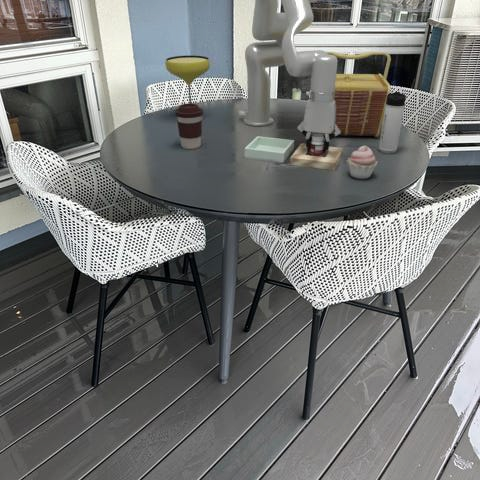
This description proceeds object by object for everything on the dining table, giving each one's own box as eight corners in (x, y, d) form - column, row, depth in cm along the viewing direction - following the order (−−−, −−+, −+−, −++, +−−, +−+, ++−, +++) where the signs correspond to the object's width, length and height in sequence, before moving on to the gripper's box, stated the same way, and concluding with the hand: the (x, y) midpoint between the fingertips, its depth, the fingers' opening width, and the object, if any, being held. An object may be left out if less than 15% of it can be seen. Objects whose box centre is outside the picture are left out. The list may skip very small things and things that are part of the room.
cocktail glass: (189, 111, 208) (185, 54, 195) (220, 118, 199) (218, 57, 186) (161, 121, 196) (155, 60, 183) (193, 128, 187) (189, 64, 174)
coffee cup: (209, 143, 170) (207, 103, 162) (196, 152, 163) (193, 110, 155) (186, 140, 174) (183, 100, 166) (172, 148, 166) (169, 107, 158)
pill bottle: (308, 156, 158) (309, 133, 153) (321, 156, 158) (323, 132, 153) (311, 161, 154) (312, 137, 149) (324, 161, 154) (327, 137, 149)
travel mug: (396, 148, 164) (407, 92, 154) (396, 154, 159) (406, 97, 148) (379, 146, 166) (387, 91, 156) (377, 152, 161) (386, 95, 150)
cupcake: (357, 183, 138) (361, 152, 133) (339, 172, 146) (343, 142, 140) (381, 178, 141) (386, 147, 136) (363, 168, 149) (367, 138, 143)
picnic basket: (374, 122, 192) (385, 46, 177) (385, 142, 170) (399, 57, 155) (305, 120, 195) (310, 46, 179) (307, 140, 173) (313, 57, 157)
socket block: (290, 164, 152) (290, 157, 150) (300, 150, 164) (301, 143, 162) (334, 170, 147) (335, 163, 146) (342, 154, 159) (343, 148, 158)
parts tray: (244, 158, 157) (244, 148, 155) (257, 145, 168) (257, 136, 167) (283, 163, 153) (283, 153, 151) (293, 149, 164) (294, 140, 162)
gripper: (293, 96, 144) (290, 151, 154) (346, 101, 139) (340, 157, 149) (299, 91, 150) (295, 144, 160) (350, 95, 145) (343, 149, 155)
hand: (317, 150), depth 154 cm, fingers closed on pill bottle, 4 cm apart
